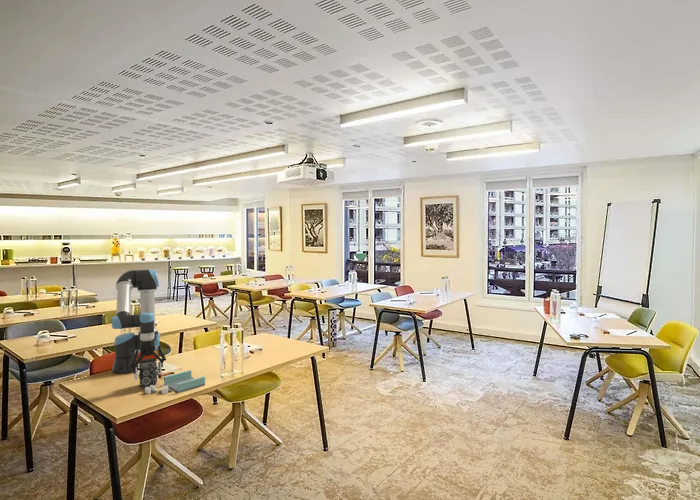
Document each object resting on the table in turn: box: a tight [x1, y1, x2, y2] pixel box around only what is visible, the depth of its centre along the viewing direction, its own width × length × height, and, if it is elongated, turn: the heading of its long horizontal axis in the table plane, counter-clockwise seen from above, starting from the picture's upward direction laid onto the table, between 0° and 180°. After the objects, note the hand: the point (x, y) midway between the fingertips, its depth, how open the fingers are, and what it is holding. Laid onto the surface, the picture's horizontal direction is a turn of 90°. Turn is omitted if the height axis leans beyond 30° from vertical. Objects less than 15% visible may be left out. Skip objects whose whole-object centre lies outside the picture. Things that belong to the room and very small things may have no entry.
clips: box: [144, 385, 170, 395], centre depth 236 cm, size 13×5×3 cm, turn 87°
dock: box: [163, 369, 206, 394], centre depth 247 cm, size 18×16×5 cm
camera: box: [138, 357, 159, 389], centre depth 245 cm, size 10×10×15 cm
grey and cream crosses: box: [143, 388, 173, 394], centre depth 236 cm, size 16×4×1 cm, turn 87°
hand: (148, 376), depth 245 cm, fingers open, 13 cm apart
